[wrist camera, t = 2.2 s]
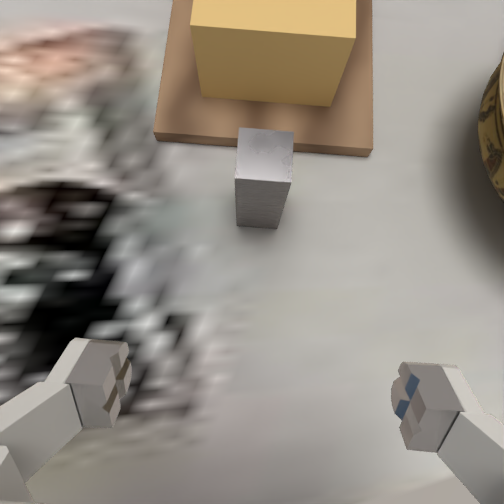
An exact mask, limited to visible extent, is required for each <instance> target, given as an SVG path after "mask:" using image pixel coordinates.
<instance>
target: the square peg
mask: <svg viewBox="0 0 504 504" xmlns="http://www.w3.org/2000/svg"><path fill="white" fill-rule="evenodd" d="M293 140H294V132H292V131H279V130H266V129H254V128H241V127H239V135H238V146H237V157H236V168H235V196H236V218H237V226H245V227H258V228H271V229H277V227H278V224H279V221H280V217H281V214H282V211H283V208H284V205H285V201H286V198H287V195H288V192H289V189H290V185H291V180H292V160H293Z"/></svg>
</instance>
